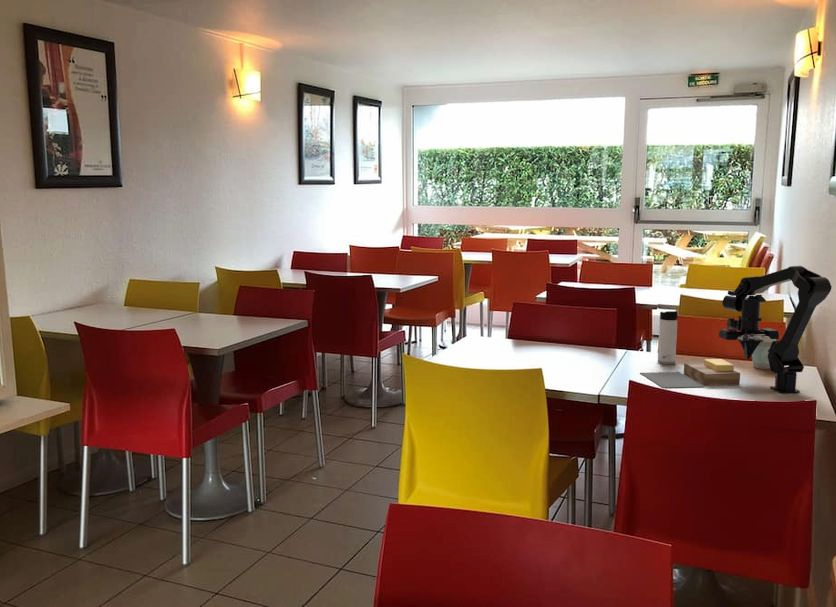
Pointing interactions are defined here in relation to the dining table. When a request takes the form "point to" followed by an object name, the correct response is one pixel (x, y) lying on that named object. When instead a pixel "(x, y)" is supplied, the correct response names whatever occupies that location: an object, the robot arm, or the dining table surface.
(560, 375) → the dining table surface
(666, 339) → the travel mug
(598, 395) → the dining table surface
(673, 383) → the mat
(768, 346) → the coffee cup
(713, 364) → the yellow flat block
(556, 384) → the dining table surface
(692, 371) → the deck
